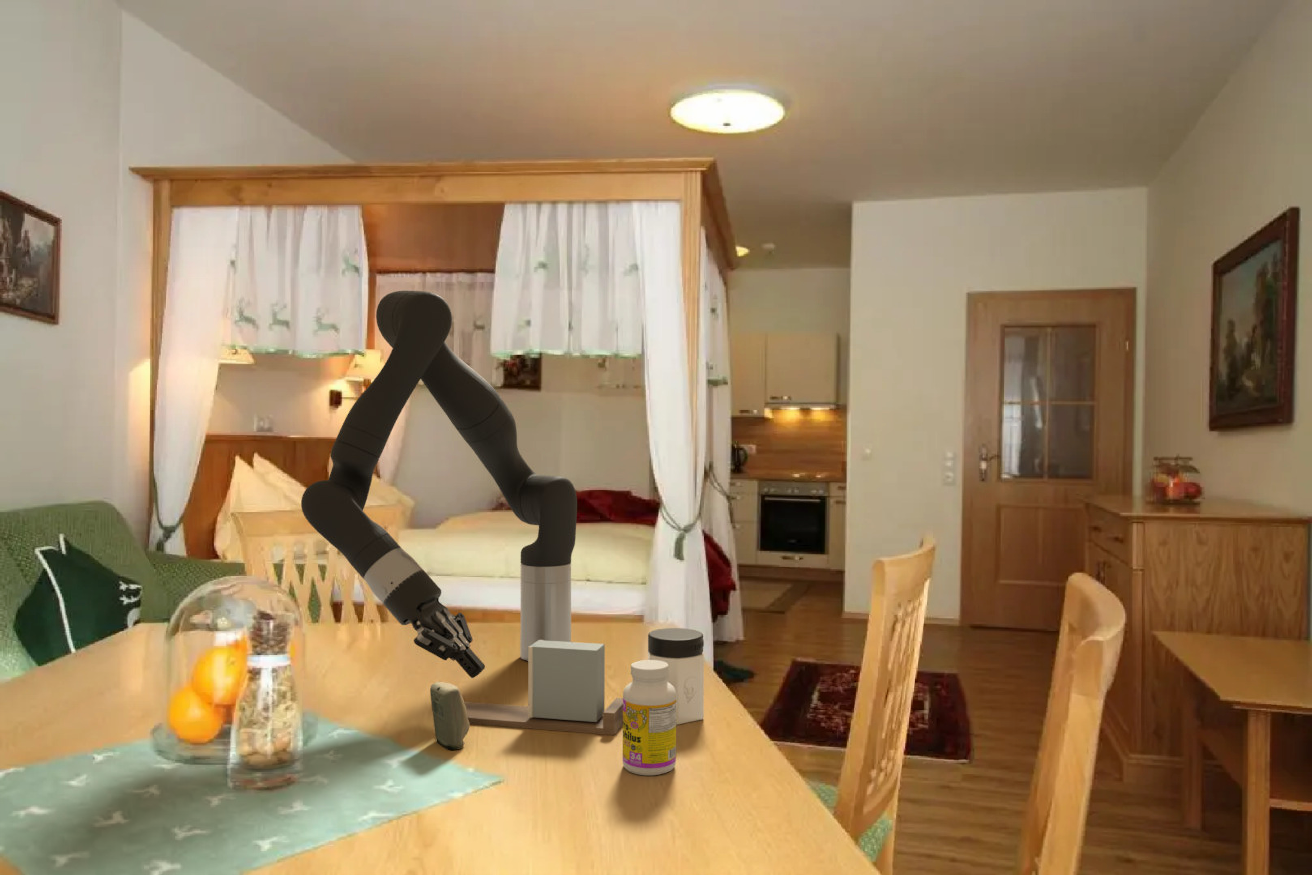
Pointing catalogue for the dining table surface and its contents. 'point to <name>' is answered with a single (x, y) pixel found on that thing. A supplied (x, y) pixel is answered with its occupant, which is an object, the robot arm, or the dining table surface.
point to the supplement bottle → (649, 720)
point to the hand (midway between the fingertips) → (479, 672)
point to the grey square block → (566, 680)
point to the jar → (682, 668)
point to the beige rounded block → (449, 715)
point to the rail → (519, 718)
